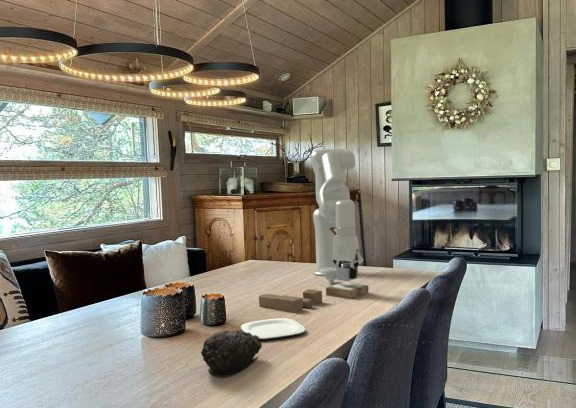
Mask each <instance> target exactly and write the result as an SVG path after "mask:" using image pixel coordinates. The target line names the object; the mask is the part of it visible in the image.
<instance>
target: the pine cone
mask: <svg viewBox="0 0 576 408" xmlns="http://www.w3.org/2000/svg"><path fill="white" fill-rule="evenodd" d="M202 347H203V348H202V349H201V351H200V354H201V356H202V360H203V361H204V363H205V364H206V365H207V367H208V368H209V369H208V370H207V371H208V373H210V375H212V376H215V377H218V378H227V377H232V376H234V375H237V374H239V373H240V372H242V371H244V370H246V369H248V368H249V367H250V366H251V365H253V364H254V363H255V362H257V361H258V360H259V358H260V357H259V356H256V355H257V354H258V353H259V352H260V350H261V349H262V347H263V346H262V342H261V341H260V339H259V337H258V336H257V335H254V336H253V335H252V334H251V333H249V332H248V333H246V332H244V331H242V329H240V330H239V329H236V330H235V329H233V330H225V329H224V330H222V331H218V332H217V333H215V332H214V333H213V334H212V335H210V336H209V337H208V338H206V339H205V341H204V342H203V346H202Z"/></svg>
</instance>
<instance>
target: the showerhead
mask: <svg viewBox="0 0 576 408" xmlns="http://www.w3.org/2000/svg"><path fill="white" fill-rule="evenodd" d="M320 272H321V273H323V274H326V276H325V280H327V281H328V284H329V285H334V284H335V280H337V272H336V267H325V268H321V269H320ZM333 283H334V284H333Z"/></svg>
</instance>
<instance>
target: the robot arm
mask: <svg viewBox="0 0 576 408" xmlns="http://www.w3.org/2000/svg"><path fill="white" fill-rule="evenodd" d="M310 163H311V167H312V169H313V173H314V175H315V199H316V203H317V204H318V207H319V208H316V209H315V210H314V211H313V214H312V219H313V220H312V221H313V227H314V233H315V235H314V236H315V264H316V265H315V267H316V269H314V270H313V271H312V272H313V275H315V276H323V277H326V274H323V273H321V272H320V269H321V268H325V267H339V266H341V264H342V263H344V262H347V263H350V265H351V267H352V269H351V279H354V278H356V276H357V268H358V269H359V266H360V265H361V264H362V262H364V258H363V256H362V255H361V254H360V246H359V244H360V243H359V240H358V239H359V238H358V236H357V234H356V205H355V201H353V200H352V199H350V198H351V197H350V190H349V187H348V186H347V185H345V183H346V175H345V171H351V170H354V168H355V167H356V157H355V154H354V153H353V152H352V150H349V149H347V148H345V149H344V148H336V149H335V148H334V149H333V148H332V149H330V148H329V149H325V148H324V149H317V150H314V151H313V152H312V153H311V156H310ZM331 228H332V229H333V231H332V230H331ZM334 232H335V233H334ZM354 280H355V279H354Z"/></svg>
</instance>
